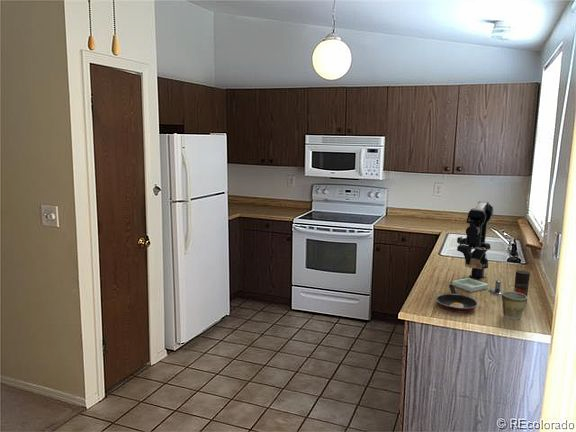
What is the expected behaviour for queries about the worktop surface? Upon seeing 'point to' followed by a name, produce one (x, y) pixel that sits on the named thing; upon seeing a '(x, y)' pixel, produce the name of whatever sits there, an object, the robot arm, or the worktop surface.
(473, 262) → the ring
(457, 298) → the frying pan
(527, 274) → the deodorant
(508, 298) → the ceramic cup
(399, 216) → the worktop surface
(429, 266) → the worktop surface
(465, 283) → the tray
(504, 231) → the worktop surface
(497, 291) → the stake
